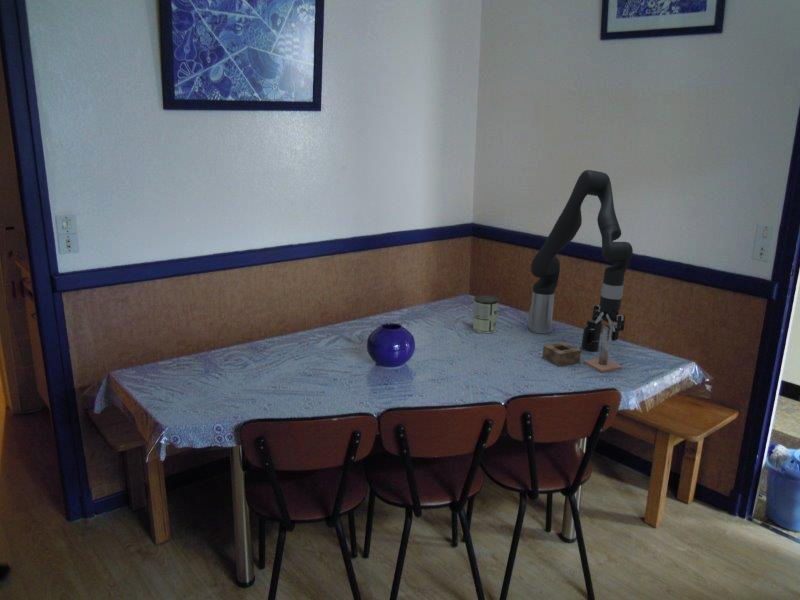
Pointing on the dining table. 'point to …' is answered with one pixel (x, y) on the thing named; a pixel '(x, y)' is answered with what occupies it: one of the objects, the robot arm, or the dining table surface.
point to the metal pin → (605, 344)
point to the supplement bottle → (590, 337)
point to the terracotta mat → (603, 368)
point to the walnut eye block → (561, 354)
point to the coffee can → (485, 313)
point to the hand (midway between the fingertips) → (605, 336)
